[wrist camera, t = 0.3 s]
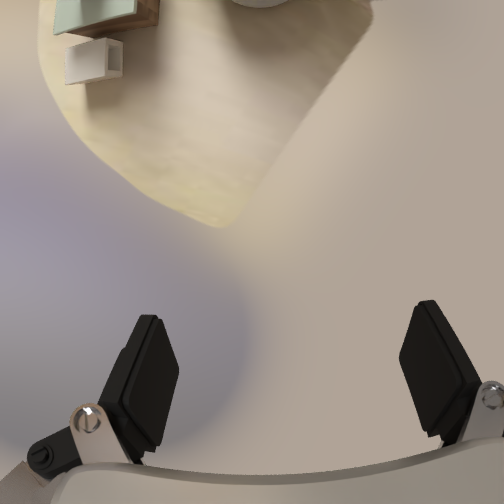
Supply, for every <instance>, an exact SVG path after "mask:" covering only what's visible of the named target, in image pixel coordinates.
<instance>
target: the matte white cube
mask: <svg viewBox="0 0 504 504" xmlns="http://www.w3.org/2000/svg"><path fill="white" fill-rule="evenodd" d="M122 70H123V42H121V41H117V40H113V39H110V38H101V39H97V40H94V41H90V42H86V43H83V44H79V45H76V46H72V47H69V48H66V55H65V85H72V84H87V83H91V82H96V81H101V80H107V79H112V78H118V77H122Z"/></svg>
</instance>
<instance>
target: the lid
mask: <svg viewBox="0 0 504 504" xmlns="http://www.w3.org/2000/svg"><path fill="white" fill-rule="evenodd" d="M136 11H137V0H57V3H56V11H55V19H54V29H53V35H60V34H62V33H65V32H68V31H71V30H74V29H77V28H81V27H84V26H87V25H91V24H94V23H98V22H101V21H105V20H109V19H113V18H118V17H122V16H127V15H131V14H136Z"/></svg>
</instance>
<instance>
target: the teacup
mask: <svg viewBox="0 0 504 504" xmlns="http://www.w3.org/2000/svg"><path fill="white" fill-rule="evenodd" d="M232 1H234V2H235V3H238V4H240V5H244V6H248V7H254V8H265V7H272V6H276V5H279V4H282V3H284V2H286V1H288V0H232Z"/></svg>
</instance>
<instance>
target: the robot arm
mask: <svg viewBox="0 0 504 504" xmlns="http://www.w3.org/2000/svg"><path fill="white" fill-rule="evenodd" d="M399 361H400V365H401V368H402V370H403V373H404V376H405V379H406V381H407V384H408V387H409V390H410V393H411V396H412V399H413V402H414V405H415V408H416V411H417V413H418V417H419V420H420V423H421V426H422V429H423V431H425V432H426V431H427V434H428V437H433V436H436V435H439V434H440V437H441V443H440V445H439V447H438V449H437V450H433V451H429V452H426V453H422V454H418V455H414V456H411V457H407V458H402V459H398V460H393V461H389V462H384V463H379V464H374V465H368V466H362V467H356V468H350V469H342V470H335V471H326V472H316V473H303V474H286V475H231V474H230V475H229V474H213V473H201V472H191V471H181V470H173V469H165V468H158V467H151V466H147V465H146V464H145V462H144V461H143V459H142V457H143V456H144V452H145V451H148V452H155V450H156V446H160V444H161V442H162V438H163V433H164V430H165V426H166V421H167V418H168V413H169V410H170V406H171V402H172V398H173V394H174V390H175V386H176V382H177V379H178V375H179V366H178V363H177V360H176V358H175V355H174V352H173V350H172V347H171V344H170V341H169V338H168V335H167V332H166V329H165V327H164V324H163V321H162V319H158V317H157V316H156V315H141V316H140V317H139V319H138V321H137V323H136V325H135V327H134V330H133V332H132V334H131V336H130V338H129V340H128V342H127V344H126V347H125V348H123V349H122V350H121V352H120V354H119V356H118V358H117V360H116V362H115V364H114V367H113V369H112V371H111V373H110V376H109V378H108V380H107V382H106V385H105V387H104V389H103V392H102V394H101V396H100V399H99V401H98V404H94V403H86V404H83V405H81V406H79V407H77V408H76V410H75V411H73V413H72V415H71V417H70V421H69V423H70V426H68V427H66V428H64V429H62V430H60V431H58V432H56V433H55V434H52V435H50V436H48V437H46V438H44V439H42V440H40V441H38V442H36V443H35V444H33V445H32V446H31V447H30V449H29V451H28V454H27V462H26V463H25V462H24V461H22V462H21V463H20V464H18V465H17V466H16V467H15V468H14V469H13V470H12V471H11V472H10V473H9V474H8V475H6V476H5V477H4V478H3V479H2V480H1V481H0V504H504V386H503V385H502V384H500V383H498V382H496V381H487V382H485V383H483V384H482V382H481V380H480V378H479V376H478V374H477V372H476V370H475V368H474V366H473V364H472V362H471V361H470V359H469V357H468V355H467V353H466V352H465V350H464V348H463V346H462V344H461V343H460V341H459V339H458V337H457V336H456V334H455V332H454V331H453V329H452V327H451V326H450V324H449V322H448V321H447V319H446V317H445V316H444V315H443V313H442V311H441V309H440V308H439V306H438V305H437V303H436V302H435V301H434V300H427V301H420V302H419V303H418V305H417V306H415V307H414V310H413V314H412V317H411V320H410V324H409V327H408V330H407V333H406V337H405V339H404V342H403V345H402V348H401V351H400V355H399Z"/></svg>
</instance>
